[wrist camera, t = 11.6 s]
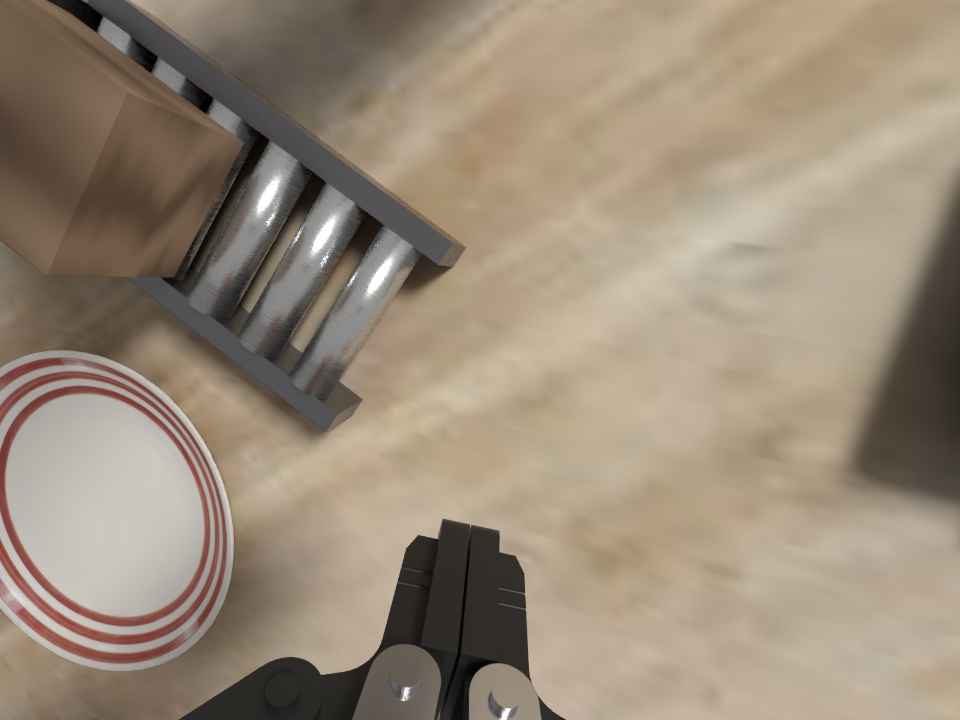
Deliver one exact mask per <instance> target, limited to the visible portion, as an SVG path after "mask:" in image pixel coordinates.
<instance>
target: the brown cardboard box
mask: <svg viewBox="0 0 960 720" xmlns="http://www.w3.org/2000/svg"><path fill="white" fill-rule="evenodd" d="M243 144H244V142H242V141H241V140H240V139H238V138H237V137H236V136H234V135H233V134H232V133H230V132H229V131H228V130H226V129H225V128H224V127H222V126H221V125H219V124H218V123H217V122H215V121H214V120H213V119H211V118H210V117H209V116H207V115H206V114H205V113H203V112H202V111H201V110H199V109H198V108H197V107H195V106H194V105H193V104H191V103H190V102H189V101H187V100H186V99H185V98H183V97H182V96H181V95H179V94H178V93H177V92H175V91H174V90H173V89H171V88H170V87H169V86H167V85H166V84H165V83H163V82H162V81H161V80H159V79H158V78H157V77H155V76H154V75H153V74H151V73H150V72H149V71H147V70H146V69H144V68H143V67H142V66H140V65H139V64H138V63H136V62H135V61H134V60H132V59H131V58H130V57H128V56H127V55H126V54H124V53H123V52H122V51H120V50H119V49H118V48H116V47H115V46H114V45H112V44H111V43H110V42H108V41H107V40H106V39H104V38H103V37H102V36H100V35H99V34H98V33H96V32H95V31H94V30H92V29H91V28H90V27H88V26H87V25H86V24H84V23H83V22H82V21H80V20H79V19H78V18H76V17H75V16H74V15H72V14H71V13H69V12H68V11H66V10H64V9H62V8H60V7H58V6H57V5H55V4H53V3H51V2H49V1H47V0H0V241H2V242H3V243H4V244H6V245H7V246H8V247H9V248H11V249H12V250H13V251H14V252H16V253H17V254H18V255H20V256H21V257H22V258H23V259H25V260H26V261H27V262H29V263H30V264H31V265H32V266H34V267H35V268H36V269H38V270H39V271H40V272H41V273H43V274H44V275H45V276H85V277H174V276H175V275H176V273H177V271H178V269H179V267H180V265H181V263H182V261H183V259H184V257H185V255H186V253H187V251H188V250H189V248H190V246H191V244H192V242H193V240H194V238H195V236H196V234H197V232H198V230H199V228H200V226H201V225H202V223H203V221H204V219H205V217H206V215H207V213H208V211H209V209H210V207H211V205H212V203H213V201H214V199H215V198H216V196H217V194H218V192H219V190H220V188H221V186H222V184H223V182H224V180H225V178H226V176H227V174H228V173H229V171H230V169H231V167H232V165H233V163H234V161H235V159H236V157H237V155H238V153H239V151H240V149H241V147H242V146H243Z"/></svg>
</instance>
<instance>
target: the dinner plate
mask: <svg viewBox="0 0 960 720" xmlns="http://www.w3.org/2000/svg"><path fill="white" fill-rule="evenodd" d="M233 558H234V536H233V524H232V517H231V511H230V506H229V502H228V497H227V494H226V491H225V488H224V485H223V482H222V479H221V476H220V473H219V471H218V469H217V467H216V464H215V463H214V461H213V458H212V456H211V454H210V452H209V450H208V448H207V446H206V445H205V443H204V441H203V440H202V438H201V436H200V435H199V433H198V432H197V430H196V429H195V427H194V426H193V424H192V423H191V421H190V420H189V419H188V418H187V417H186V415H185V414H184V413H183V412H182V410H181V409H180V408H179V407H178V406H177V405H176V404H175V403H174V402H173V401H172V400H171V399H170V398H169V397H168V396H167V395H166V394H165V393H164V392H163V391H162V390H161V389H159V388H158V387H157V386H156V385H154V384H153V383H152V382H150V381H149V380H147V379H146V378H145V377H143V376H141V375H139V374H138V373H137V372H135V371H133V370H132V369H130V368H128V367H126V366H124V365H122V364H120V363H117V362H115V361H113V360H110V359H108V358H105V357H102V356H98V355H95V354H91V353H86V352H80V351H72V350H50V351H43V352H38V353H33V354H29V355H26V356H23V357H20V358H18V359H16V360H13V361H11V362H9V363H7V364H6V365H4V366H2V367H1V368H0V609H1V610H2V611H3V612H4V613H5V614H6V615H7V616H8V617H9V618H10V619H11V620H12V621H13V622H14V623H15V624H16V625H17V626H18V627H19V628H20V629H22V630H23V631H24V632H25V633H26V634H27V635H28V636H30V637H31V638H32V639H34V640H35V641H36V642H38V643H39V644H41V645H42V646H43V647H45V648H47V649H48V650H50V651H52V652H53V653H55V654H57V655H59V656H61V657H63V658H66V659H68V660H70V661H72V662H75V663H77V664H81V665H84V666H87V667H91V668H95V669H101V670H107V671H134V670H141V669H146V668H151V667H154V666H158V665H160V664H163V663H165V662H168V661H170V660H172V659H174V658H176V657H178V656H179V655H181V654H182V653H184V652H185V651H187V650H188V649H189V648H191V647H192V646H193V645H194V644H195V643H196V642H197V641H198V640H199V639H200V638H201V637H202V636H203V635H204V634H205V633H206V631H207V630H208V629H209V628H210V626H211V625H212V623H213V622H214V620H215V619H216V617H217V615H218V613H219V612H220V609H221V607H222V605H223V603H224V600H225V597H226V595H227V591H228V588H229V584H230V580H231V575H232V567H233Z"/></svg>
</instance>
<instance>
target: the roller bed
mask: <svg viewBox="0 0 960 720" xmlns="http://www.w3.org/2000/svg"><path fill="white" fill-rule="evenodd" d="M47 1H49V2H51V3H53V4H55V5H57V6H58V7H60V8H62V9H64V10H66V11H68V12H69V13H71V14H72V15H74V16H75V17H76V18H78V19H79V20H80V21H82V22H83V23H84V24H86V25H87V26H88V27H90V28H91V29H92V30H94V31H95V32H96V33H98V34H99V35H100V36H102V37H103V38H104V39H106V40H107V41H108V42H110V43H111V44H112V45H114V46H115V47H116V48H118V49H119V50H120V51H122V52H123V53H124V54H126V55H127V56H128V57H130V58H131V59H132V60H134V61H135V62H136V63H138V64H139V65H140V66H142V67H143V68H144V69H146V70H147V71H148V70H149V68H150V66H151V63H152V61H153V59H154V57H155V55H156V56H158V58H157V61H156V63H155V65H154V67H153V69H152V72H151V74H153V75H154V76H155V77H157V78H158V79H159V80H161V81H162V82H163V83H165V84H166V85H167V86H169V87H170V88H171V89H173V90H174V91H175V92H177V93H178V94H179V95H181V96H182V97H183V98H185V99H186V100H187V101H189V102H190V103H191V104H193V105H194V106H195V107H197V108H198V109H200V107H201V105H202V103H203V101H204V99H205V97H206V94H207V93H208V94H209V95H210V96H212V97H213V98H214V99H213V101H212V103H211V105H210V107H209V109H208V111H207V113H206V115H207V116H209V117H210V118H211V119H213V120H214V121H215V122H217V123H218V124H219V125H221V126H222V127H224V128H225V129H226V130H228V131H229V132H230V133H232V134H233V135H234V136H236V137H237V138H238V139H240V140H241V141H242V142H244V144H243V146H242V147H241V149H240V151H239V153H238V155H237V157H236V159H235V161H234V163H233V165H232V167H231V169H230V171H229V173H228V174H227V176H226V178H225V180H224V182H223V184H222V186H221V188H220V190H219V192H218V194H217V196H216V198H215V199H214V201H213V203H212V205H211V207H210V209H209V211H208V213H207V215H206V217H205V219H204V221H203V223H202V225H201V226H200V228H199V230H198V232H197V234H196V236H195V238H194V240H193V242H192V244H191V246H190V248H189V250H188V251H187V253H186V255H185V257H184V259H183V261H182V263H181V265H180V267H179V269H178V271H177V273H176V275H175V276H174V277H126V278H127V279H128V280H130V281H131V282H132V283H133V284H135V285H136V286H137V287H139V288H140V289H141V290H142V291H144V292H145V293H146V294H148V295H149V296H150V297H152V298H153V299H154V300H155V301H157V302H158V303H159V304H161V305H162V306H163V307H165V308H166V309H167V310H168V311H170V312H171V313H172V314H174V315H175V316H176V317H177V318H179V319H180V320H181V321H183V322H184V323H185V324H187V325H188V326H189V327H190V328H192V329H193V330H194V331H196V332H197V333H198V334H199V335H201V336H202V337H203V338H205V339H206V340H207V341H209V342H210V343H211V344H212V345H214V346H215V347H216V348H218V349H219V350H220V351H221V352H223V353H224V354H225V355H227V356H228V357H229V358H231V359H232V360H233V361H234V362H236V363H237V364H238V365H240V366H241V367H242V368H243V369H245V370H246V371H247V372H249V373H250V374H251V375H253V376H254V377H255V378H256V379H258V380H259V381H260V382H262V383H263V384H264V385H265V386H267V387H268V388H269V389H271V390H272V391H273V392H275V393H276V394H277V395H278V396H280V397H281V398H282V399H284V400H285V401H286V402H287V403H289V404H290V405H291V406H293V407H294V408H295V409H297V410H298V411H299V412H300V413H302V414H303V415H304V416H306V417H307V418H308V419H309V420H311V421H312V422H313V423H315V424H316V425H317V426H319V427H320V428H321V429H322V430H324V431H325V432H327V431H329V430H330V429H332V428H333V427H335V426H337V425H338V424H340V423H341V422H343V421H344V420H346V419H348V418H349V417H351V416H352V415H353V413H354V412H355V410H356V409H357V407H358V406H359V404H360V403H361V401H362V399H361V398H360V397H358V396H357V395H356V394H354V393H353V392H352V391H351V390H349V389H348V388H347V387H345V386H344V385H343V384H341V383H340V382H339V380H340V379H341V377H342V376H343V374H344V373H345V371H346V370H347V368H348V367H349V365H350V364H351V362H352V361H353V359H354V358H355V356H356V355H357V353H358V352H359V350H360V348H361V347H362V345H363V344H364V342H365V341H366V339H367V338H368V336H369V335H370V333H371V332H372V330H373V329H374V327H375V326H376V324H377V323H378V321H379V320H380V318H381V317H382V315H383V313H384V312H385V310H386V309H387V307H388V306H389V304H390V303H391V301H392V300H393V298H394V297H395V295H396V294H397V292H398V291H399V289H400V288H401V286H402V285H403V283H404V281H405V280H406V278H407V277H408V275H409V274H410V272H411V271H412V269H413V268H414V266H415V265H416V263H417V262H418V260H419V259H420V257H421V256H422V254H424V255H425V256H427V257H428V258H429V259H431V260H432V261H433V262H435V263H436V264H437V265H442V266H450V267H453V266H454V265H455V263H456V262H457V260H458V259H459V257H460V256H461V254H462V253H463V251H464V250H465V248H466V247H465V246H463V245H462V244H461V243H459V242H458V241H457V240H455V239H454V238H453V237H451V236H450V235H449V234H447V233H446V232H445V231H443V230H442V229H440V228H439V227H438V226H436V225H435V224H434V223H432V222H431V221H430V220H428V219H427V218H426V217H424V216H423V215H422V214H420V213H419V212H417V211H416V210H415V209H413V208H412V207H411V206H409V205H408V204H407V203H405V202H404V201H403V200H401V199H400V198H399V197H397V196H396V195H394V194H393V193H392V192H390V191H389V190H388V189H386V188H385V187H384V186H382V185H381V184H380V183H378V182H377V181H376V180H374V179H373V178H372V177H370V176H369V175H367V174H366V173H365V172H363V171H362V170H361V169H359V168H358V167H357V166H355V165H354V164H353V163H351V162H350V161H349V160H347V159H346V158H344V157H343V156H342V155H340V154H339V153H338V152H336V151H335V150H334V149H332V148H331V147H330V146H328V145H327V144H326V143H324V142H323V141H321V140H320V139H319V138H317V137H316V136H315V135H313V134H312V133H311V132H309V131H308V130H307V129H305V128H304V127H303V126H301V125H300V124H299V123H297V122H296V121H294V120H293V119H292V118H290V117H289V116H288V115H286V114H285V113H284V112H282V111H281V110H280V109H278V108H277V107H276V106H274V105H273V104H271V103H270V102H269V101H267V100H266V99H265V98H263V97H262V96H261V95H259V94H258V93H257V92H255V91H254V90H253V89H251V88H250V87H249V86H247V85H246V84H244V83H243V82H242V81H240V80H239V79H238V78H236V77H235V76H234V75H232V74H231V73H230V72H228V71H227V70H226V69H224V68H223V67H221V66H220V65H219V64H217V63H216V62H215V61H213V60H212V59H211V58H209V57H208V56H207V55H205V54H204V53H203V52H201V51H200V50H198V49H197V48H196V47H194V46H193V45H192V44H190V43H189V42H188V41H186V40H185V39H184V38H182V37H181V36H180V35H178V34H177V33H176V32H174V31H173V30H171V29H170V28H169V27H167V26H166V25H165V24H163V23H162V22H161V21H159V20H158V19H157V18H155V17H154V16H153V15H151V14H150V13H148V12H147V11H145V10H144V9H142V8H140V7H139V6H137V5H136V4H134V3H133V2H131V1H130V0H47ZM259 133H261V134H263V135H264V136H265V137H267V138H268V139H269V142H268V144H267V146H266V148H265V150H264V152H263V154H262V155H261V157H260V159H259V161H258V163H257V165H256V167H255V169H254V170H253V172H252V174H251V176H250V178H249V180H248V182H247V184H246V185H245V187H244V189H243V191H242V193H241V195H240V197H239V199H238V200H237V202H236V204H235V206H234V208H233V210H232V212H231V214H230V215H229V217H228V219H227V221H226V223H225V225H224V227H223V229H222V230H221V232H220V234H219V236H218V238H217V240H216V242H215V244H214V245H213V247H212V249H211V251H210V253H209V255H208V257H207V259H206V261H205V262H204V264H203V266H202V268H201V270H200V272H199V274H198V273H196V272H195V271H194V270H192V269H191V268H190V267H189V266H190V264H191V262H192V260H193V258H194V257H195V255H196V253H197V251H198V249H199V247H200V245H201V243H202V241H203V239H204V237H205V236H206V234H207V232H208V230H209V228H210V226H211V224H212V222H213V220H214V218H215V217H216V215H217V213H218V211H219V209H220V207H221V205H222V203H223V201H224V199H225V197H226V196H227V194H228V192H229V190H230V188H231V186H232V184H233V182H234V180H235V178H236V177H237V175H238V173H239V171H240V169H241V167H242V165H243V163H244V161H245V159H246V158H247V156H248V154H249V152H250V150H251V148H252V146H253V144H254V142H255V140H256V138H257V137H258V135H259ZM313 172H314V173H315V174H316V175H318V176H319V177H320V178H322V179H323V180H324V181H326V183H325V185H324V187H323V188H322V190H321V192H320V194H319V195H318V197H317V199H316V201H315V202H314V204H313V206H312V207H311V209H310V211H309V213H308V214H307V216H306V218H305V220H304V221H303V223H302V225H301V227H300V228H299V230H298V232H297V234H296V235H295V237H294V239H293V240H292V242H291V244H290V246H289V247H288V249H287V251H286V253H285V254H284V256H283V258H282V260H281V261H280V263H279V265H278V266H277V268H276V270H275V272H274V273H273V275H272V277H271V279H270V280H269V282H268V284H267V286H266V287H265V289H264V291H263V292H262V294H261V296H260V298H259V299H258V301H257V303H256V305H255V306H254V308H253V310H252V312H251V313H249V312H247V311H246V310H245V309H243V308H242V307H241V306H240V305H238V304H239V302H240V300H241V299H242V297H243V295H244V293H245V292H246V290H247V288H248V286H249V284H250V283H251V281H252V279H253V277H254V276H255V274H256V272H257V270H258V269H259V267H260V265H261V263H262V262H263V260H264V258H265V256H266V254H267V253H268V251H269V249H270V247H271V246H272V244H273V242H274V240H275V239H276V237H277V235H278V233H279V231H280V230H281V228H282V226H283V224H284V223H285V221H286V219H287V217H288V216H289V214H290V212H291V210H292V209H293V207H294V205H295V203H296V201H297V200H298V198H299V196H300V194H301V193H302V191H303V189H304V187H305V186H306V184H307V182H308V180H309V179H310V177H311V175H312V173H313ZM367 213H369V214H370V215H371V216H373V217H374V218H375V219H377V220H378V221H380V222H381V223H382V224H383V225H382V227H381V229H380V230H379V232H378V233H377V235H376V237H375V238H374V240H373V241H372V243H371V245H370V246H369V248H368V249H367V251H366V253H365V254H364V256H363V257H362V259H361V261H360V262H359V264H358V265H357V267H356V269H355V270H354V272H353V273H352V275H351V277H350V278H349V280H348V282H347V283H346V285H345V286H344V288H343V290H342V291H341V293H340V294H339V296H338V298H337V299H336V301H335V302H334V304H333V306H332V307H331V309H330V310H329V312H328V314H327V315H326V317H325V318H324V320H323V322H322V323H321V325H320V326H319V328H318V330H317V331H316V333H315V334H314V336H313V338H312V339H311V341H310V342H309V344H308V346H307V347H306V349H305V351H304V352H303V354H302V353H301V352H300V351H298V350H297V349H296V348H294V347H293V346H292V345H290V344H289V343H288V342H289V340H290V339H291V337H292V335H293V334H294V332H295V330H296V329H297V327H298V326H299V324H300V322H301V321H302V319H303V317H304V316H305V314H306V312H307V311H308V309H309V308H310V306H311V304H312V303H313V301H314V299H315V298H316V296H317V294H318V293H319V291H320V289H321V288H322V286H323V285H324V283H325V281H326V280H327V278H328V276H329V275H330V273H331V271H332V270H333V268H334V267H335V265H336V263H337V262H338V260H339V258H340V257H341V255H342V253H343V252H344V250H345V249H346V247H347V245H348V244H349V242H350V240H351V239H352V237H353V235H354V234H355V232H356V230H357V229H358V227H359V226H360V224H361V222H362V221H363V219H364V217H365V216H366V214H367Z"/></svg>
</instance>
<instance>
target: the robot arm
mask: <svg viewBox="0 0 960 720" xmlns="http://www.w3.org/2000/svg"><path fill="white" fill-rule="evenodd" d="M499 539H500V534H499V531H498V530H493V529H489V528H484V527H479V526H475V525H471V528H470V524H465V523H460V522H456V521H451V520H447V519H443V520H442V523H441V527H440V531H439V535H438V539H434V538H429V537H425V536H420V535H418V536H417V537H416V538H415V539H414V541H413V542H412V543H411V544H410V545H409V546H408V547H407V548H406V552H405V556H404V559H403V563H402V567H401V571H400V575H399V578H398V582H397V586H396V590H395V594H394V597H393V601H392V605H391V609H390V613H389V616H388V620H387V624H386V628H385V632H384V635H383V639H382V642H381V645H380V647H379V648H378V650H377V652H376V653H375V654H374V656H373V657H372V658H371V659H370V660H369V661H367V662H366V663H364V664H363V665H361V666H359V667H358V668H355V669H353V670H350V671H346V672H340V673H333V674H326V675H321V674H320V673H319V671H318V670H317V668H316V667H315V666H314V665H312V664H311V663H310V662H308V661H306V660H304V659H300V658H295V657H286V658H280V659H276V660H273V661H271V662H269V663H267V664H265V665H263V666H262V667H260V668H259V669H257V670H255V671H254V672H252V673H251V674H249V675H248V676H246V677H245V678H243V679H241V680H240V681H238V682H237V683H235V684H234V685H232V686H231V687H229V688H227V689H226V690H224V691H223V692H221V693H220V694H218V695H217V696H215V697H213V698H212V699H210V700H209V701H207V702H206V703H204V704H202V705H201V706H199V707H198V708H196V709H195V710H193V711H192V712H190V713H188V714H187V715H185V716H184V717H182V718H181V719H179V720H437V719H438V716H439V720H565V719H564V718H562V717H560V716H559V715H557V714H556V713H554V712H553V711H552V710H551V709H549V708H548V707H547V706H546V705H545V704H544V703H543V701H542V700H541V699H540V697H539V696H538V695H537V693H536V690H535V688H534V686H533V685H532V682H531V679H530V674H529V662H528V641H527V621H526V611H525V609H526V600H525V580H524V572H523V570H522V568H521V566H520V564H519V562H518V560H517V558H516V556H513V555H509V554H504V553H499ZM439 713H440V715H439Z"/></svg>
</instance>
